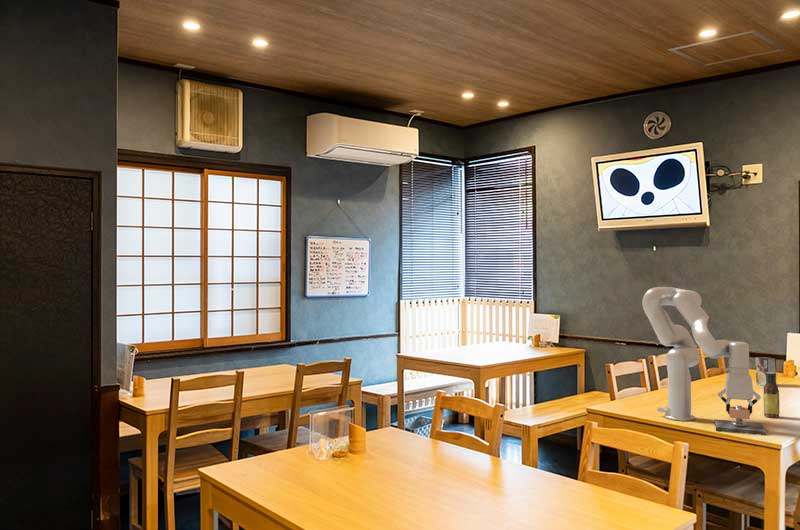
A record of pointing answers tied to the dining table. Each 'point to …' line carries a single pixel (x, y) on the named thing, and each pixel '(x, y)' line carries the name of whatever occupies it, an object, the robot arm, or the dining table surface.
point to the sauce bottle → (771, 396)
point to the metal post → (739, 420)
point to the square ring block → (739, 413)
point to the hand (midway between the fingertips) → (739, 413)
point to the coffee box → (764, 368)
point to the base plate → (750, 429)
